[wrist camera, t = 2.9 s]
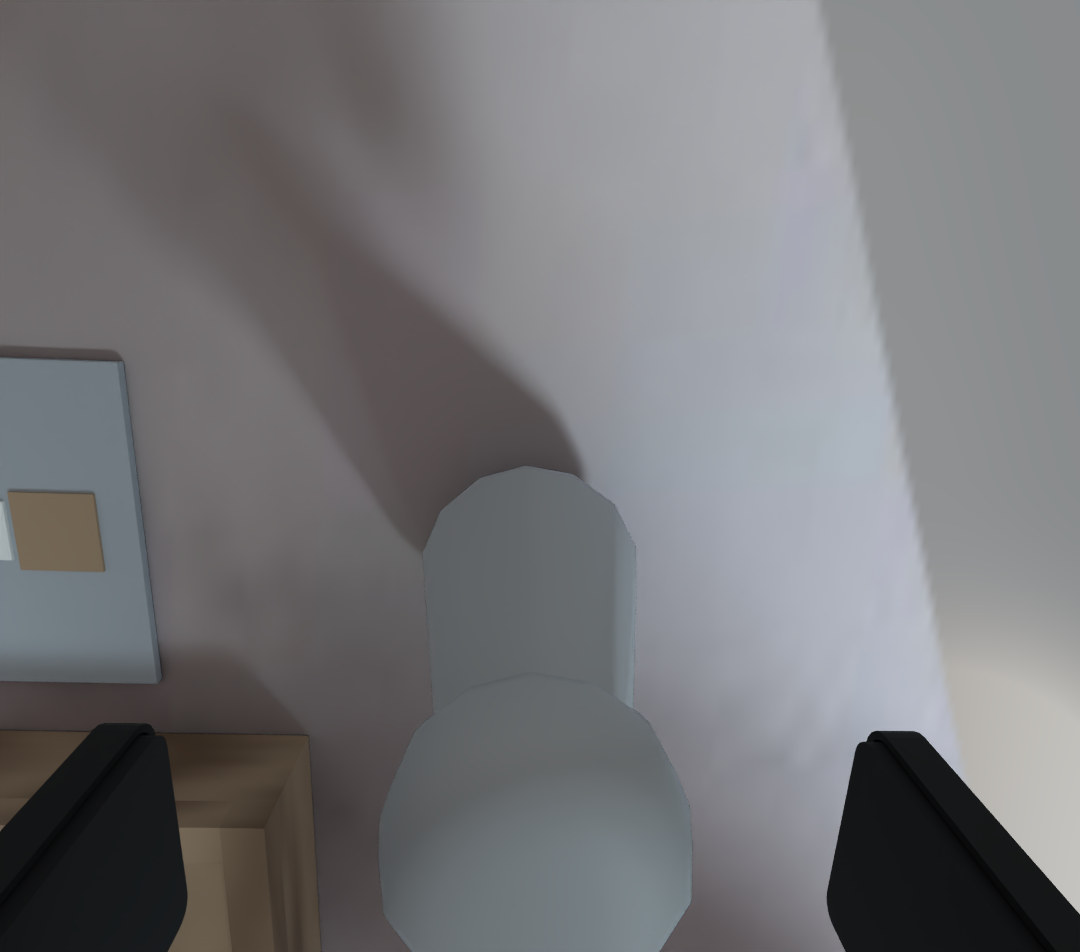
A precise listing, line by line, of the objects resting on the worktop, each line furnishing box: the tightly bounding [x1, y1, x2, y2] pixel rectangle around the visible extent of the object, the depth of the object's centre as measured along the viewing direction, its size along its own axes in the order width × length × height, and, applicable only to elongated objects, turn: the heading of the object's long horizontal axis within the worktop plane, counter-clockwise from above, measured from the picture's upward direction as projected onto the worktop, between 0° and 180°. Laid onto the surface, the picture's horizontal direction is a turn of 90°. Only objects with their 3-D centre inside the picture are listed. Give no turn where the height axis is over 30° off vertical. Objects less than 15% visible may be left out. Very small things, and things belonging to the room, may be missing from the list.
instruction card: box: [0, 357, 162, 684], centre depth 20 cm, size 7×10×1 cm
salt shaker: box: [378, 466, 692, 952], centre depth 15 cm, size 6×6×13 cm
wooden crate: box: [0, 730, 321, 952], centre depth 22 cm, size 10×10×4 cm
